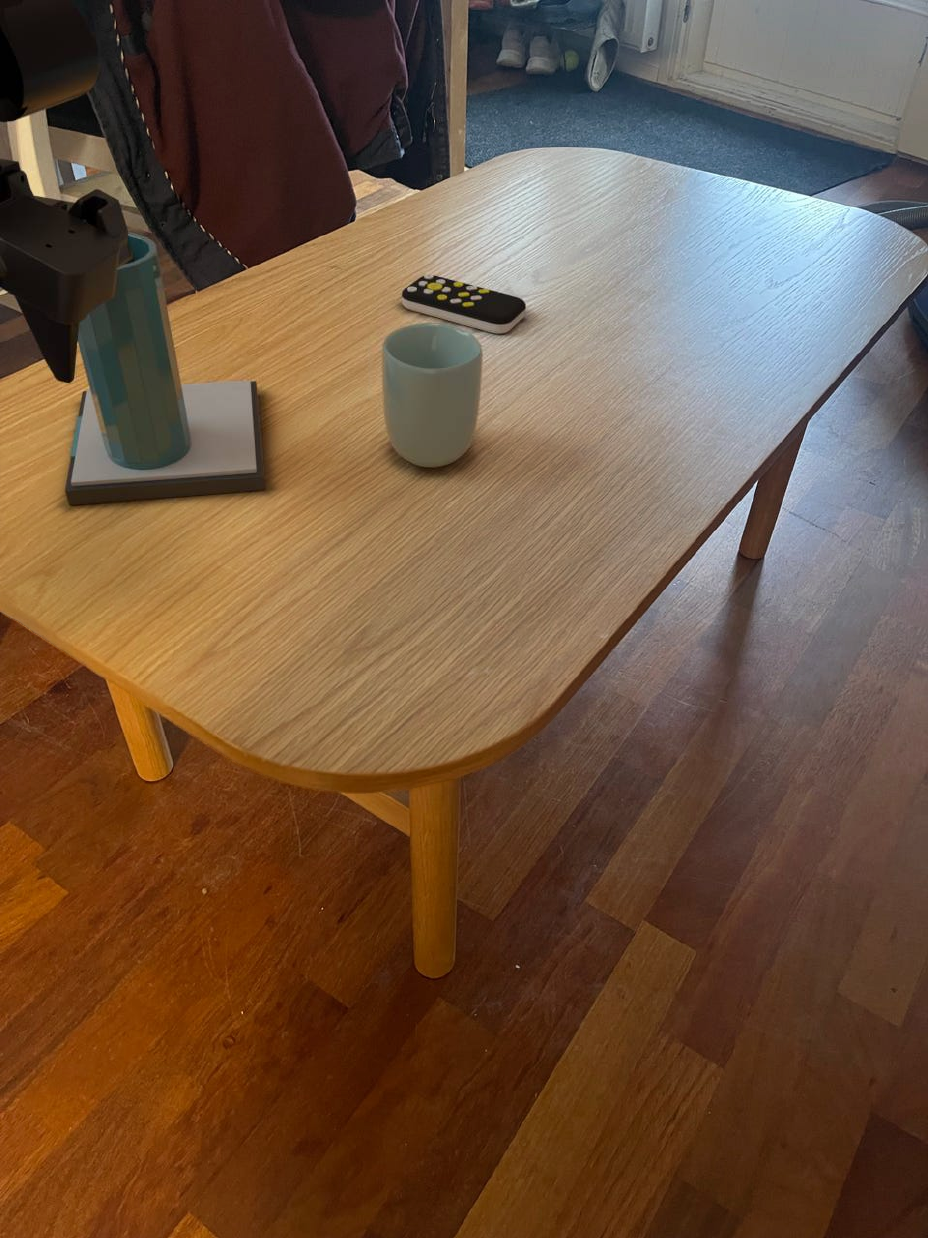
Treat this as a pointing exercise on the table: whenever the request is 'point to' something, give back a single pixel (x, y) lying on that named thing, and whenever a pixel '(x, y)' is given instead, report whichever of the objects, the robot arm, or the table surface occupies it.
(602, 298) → the table surface
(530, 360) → the table surface
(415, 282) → the remote control
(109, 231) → the robot arm
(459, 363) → the cup
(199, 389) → the scale
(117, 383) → the tumbler
